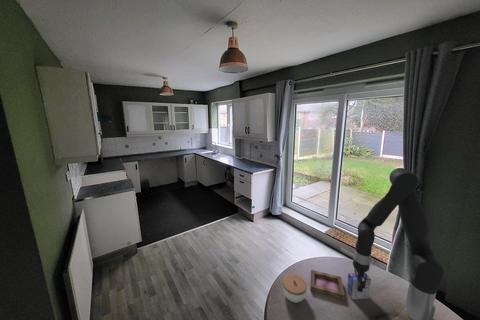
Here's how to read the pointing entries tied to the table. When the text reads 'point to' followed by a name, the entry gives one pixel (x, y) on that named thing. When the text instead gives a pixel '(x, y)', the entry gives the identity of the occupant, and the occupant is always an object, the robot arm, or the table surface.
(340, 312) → the table surface
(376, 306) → the table surface
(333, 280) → the picture frame
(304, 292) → the lidded bowl
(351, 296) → the ink cartridge box
